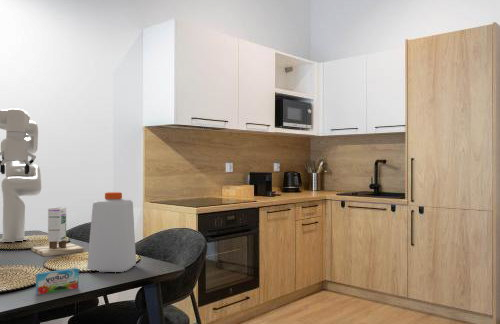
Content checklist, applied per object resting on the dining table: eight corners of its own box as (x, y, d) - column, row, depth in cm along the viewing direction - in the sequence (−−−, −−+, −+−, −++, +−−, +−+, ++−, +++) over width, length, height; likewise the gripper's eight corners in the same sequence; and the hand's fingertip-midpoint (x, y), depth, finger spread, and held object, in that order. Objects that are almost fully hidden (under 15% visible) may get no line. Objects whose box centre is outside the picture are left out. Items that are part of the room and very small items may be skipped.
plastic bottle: (139, 264, 172) (140, 191, 172) (124, 274, 156) (125, 194, 157) (101, 263, 173) (102, 191, 173) (82, 272, 158) (84, 193, 158)
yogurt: (37, 295, 130) (37, 274, 130) (35, 294, 131) (36, 273, 131) (78, 288, 138) (78, 268, 138) (76, 287, 139) (76, 267, 139)
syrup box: (60, 241, 193) (61, 208, 194) (47, 241, 194) (47, 208, 194) (66, 239, 199) (67, 207, 199) (53, 239, 199) (53, 206, 199)
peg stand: (31, 250, 197) (31, 239, 197) (70, 246, 208) (70, 236, 208) (43, 256, 184) (43, 245, 184) (84, 251, 196) (84, 241, 196)
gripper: (33, 137, 211) (32, 173, 211) (-8, 135, 199) (-9, 173, 199) (38, 137, 205) (37, 174, 205) (-4, 134, 194) (-5, 174, 194)
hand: (14, 174), depth 202 cm, fingers open, 9 cm apart
